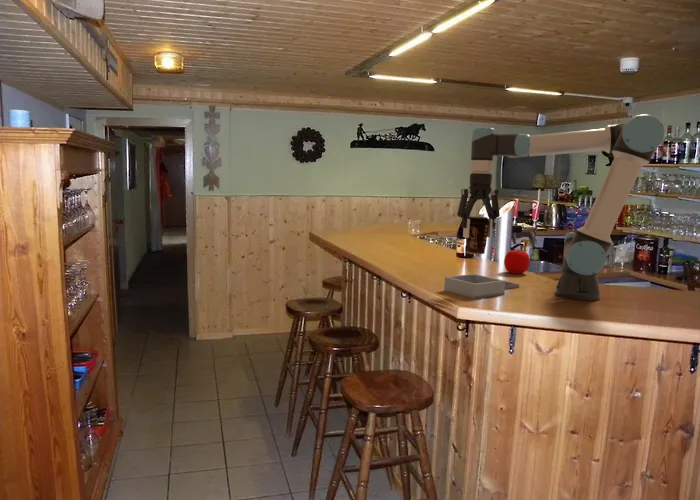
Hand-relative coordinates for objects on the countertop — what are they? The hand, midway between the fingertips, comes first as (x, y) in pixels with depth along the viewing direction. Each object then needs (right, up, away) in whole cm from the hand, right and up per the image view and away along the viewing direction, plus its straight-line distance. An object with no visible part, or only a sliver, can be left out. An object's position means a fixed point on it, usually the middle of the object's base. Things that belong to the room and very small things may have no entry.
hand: (477, 237), depth 194 cm
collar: (+9, -18, +16) cm, 26 cm away
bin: (-1, -20, +3) cm, 20 cm away
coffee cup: (0, -6, +1) cm, 6 cm away
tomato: (+28, -15, +45) cm, 55 cm away
